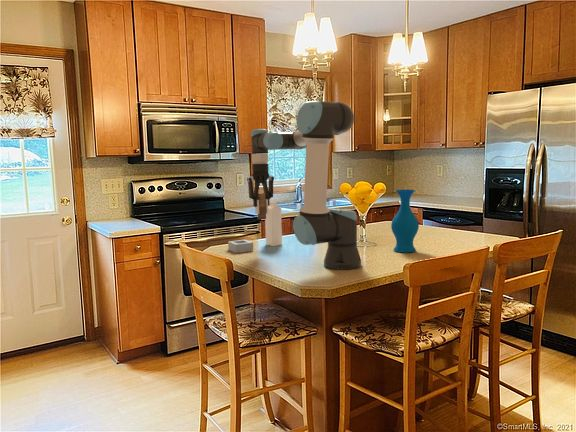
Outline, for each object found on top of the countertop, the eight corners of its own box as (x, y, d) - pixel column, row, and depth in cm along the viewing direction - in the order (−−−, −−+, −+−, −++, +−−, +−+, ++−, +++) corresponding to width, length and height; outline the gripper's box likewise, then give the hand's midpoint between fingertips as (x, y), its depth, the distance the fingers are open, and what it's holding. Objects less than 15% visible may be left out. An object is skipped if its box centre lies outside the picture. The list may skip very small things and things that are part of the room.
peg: (267, 218, 220) (266, 193, 218) (260, 219, 218) (259, 193, 216) (263, 218, 223) (263, 192, 222) (256, 218, 221) (255, 193, 220)
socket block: (253, 250, 225) (253, 242, 224) (236, 252, 220) (235, 244, 220) (245, 247, 232) (245, 239, 232) (228, 249, 228) (228, 241, 227)
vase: (423, 250, 217) (424, 190, 213) (408, 255, 208) (409, 192, 204) (401, 247, 225) (401, 188, 222) (385, 251, 217) (386, 190, 213)
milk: (272, 246, 234) (271, 202, 231) (265, 244, 239) (264, 201, 236) (282, 244, 238) (281, 201, 234) (275, 243, 242) (274, 200, 239)
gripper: (272, 162, 225) (273, 211, 228) (240, 163, 216) (241, 214, 219) (280, 162, 218) (281, 212, 221) (246, 163, 210) (248, 215, 213)
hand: (261, 213), depth 220 cm, fingers closed on peg, 4 cm apart
